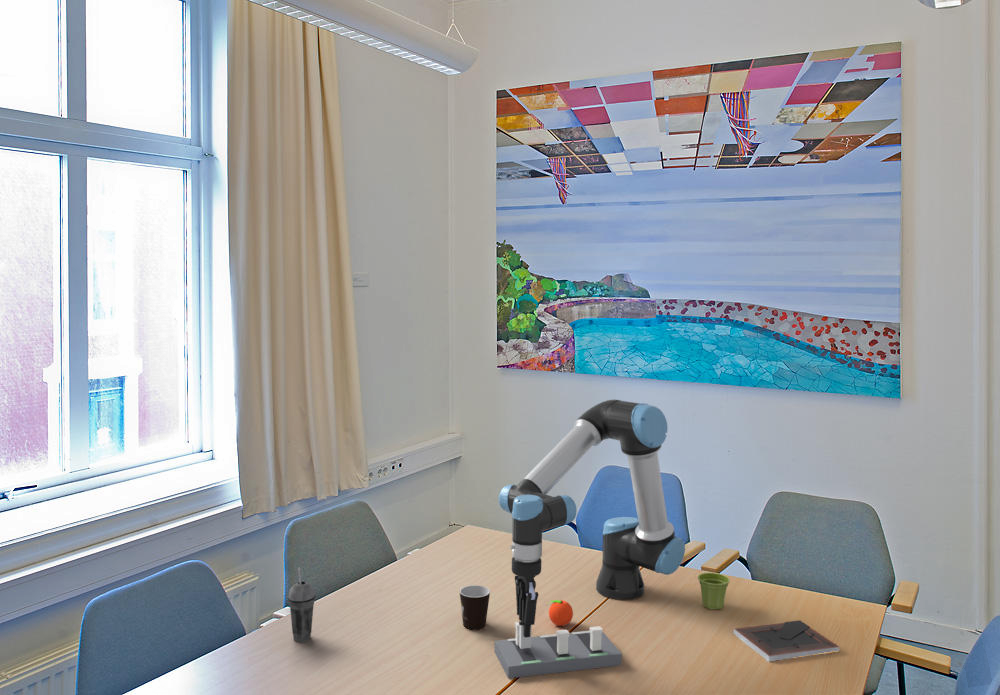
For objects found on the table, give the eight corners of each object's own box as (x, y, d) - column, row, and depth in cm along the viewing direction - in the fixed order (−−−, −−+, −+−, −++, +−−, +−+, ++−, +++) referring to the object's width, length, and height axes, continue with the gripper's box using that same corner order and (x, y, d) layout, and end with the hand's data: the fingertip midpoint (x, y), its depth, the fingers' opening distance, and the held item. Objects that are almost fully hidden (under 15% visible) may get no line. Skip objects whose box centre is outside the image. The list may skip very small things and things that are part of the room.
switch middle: (566, 650, 199) (566, 629, 198) (568, 653, 197) (569, 632, 196) (555, 651, 198) (556, 630, 197) (558, 655, 196) (558, 634, 196)
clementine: (541, 627, 220) (542, 602, 219) (548, 617, 226) (549, 593, 226) (569, 631, 217) (569, 607, 216) (575, 621, 223) (576, 597, 223)
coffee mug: (485, 633, 215) (486, 598, 214) (455, 630, 217) (456, 595, 216) (494, 616, 226) (495, 582, 225) (465, 613, 228) (466, 580, 227)
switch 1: (524, 641, 203) (525, 621, 203) (527, 645, 201) (527, 624, 201) (514, 642, 202) (514, 622, 202) (516, 646, 200) (517, 625, 200)
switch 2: (599, 646, 201) (599, 626, 200) (602, 650, 199) (602, 629, 198) (589, 647, 200) (589, 627, 200) (591, 651, 198) (592, 630, 198)
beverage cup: (321, 634, 213) (320, 563, 211) (306, 646, 206) (305, 573, 204) (298, 630, 215) (297, 560, 213) (282, 641, 208) (282, 569, 206)
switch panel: (600, 640, 212) (601, 629, 212) (621, 665, 198) (621, 653, 198) (494, 651, 204) (494, 640, 204) (508, 678, 191) (508, 665, 191)
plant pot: (694, 609, 233) (695, 581, 233) (699, 597, 242) (700, 570, 241) (726, 614, 230) (728, 586, 229) (730, 602, 239) (731, 575, 238)
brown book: (799, 628, 223) (733, 636, 217) (800, 620, 223) (733, 627, 217) (839, 655, 207) (768, 664, 202) (839, 646, 207) (769, 655, 201)
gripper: (505, 549, 202) (504, 637, 204) (519, 567, 189) (518, 660, 191) (533, 547, 204) (531, 634, 206) (548, 565, 191) (547, 657, 193)
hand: (525, 646), depth 198 cm, fingers closed
